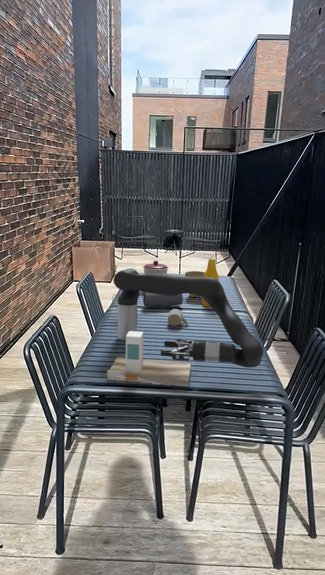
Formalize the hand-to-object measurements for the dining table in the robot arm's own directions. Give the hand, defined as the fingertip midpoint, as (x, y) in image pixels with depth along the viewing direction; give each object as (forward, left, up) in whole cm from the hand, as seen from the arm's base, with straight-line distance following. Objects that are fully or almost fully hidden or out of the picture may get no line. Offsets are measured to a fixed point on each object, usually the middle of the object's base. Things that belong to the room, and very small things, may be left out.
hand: (162, 348), depth 144 cm
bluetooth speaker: (-90, -12, -12) cm, 92 cm away
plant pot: (-120, +6, -12) cm, 121 cm away
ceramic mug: (-61, 0, -12) cm, 62 cm away
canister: (-132, -23, -12) cm, 135 cm away
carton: (0, -11, -9) cm, 14 cm away
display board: (-2, -5, -12) cm, 13 cm away
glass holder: (-67, -30, -12) cm, 75 cm away
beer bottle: (-102, +16, -12) cm, 104 cm away
